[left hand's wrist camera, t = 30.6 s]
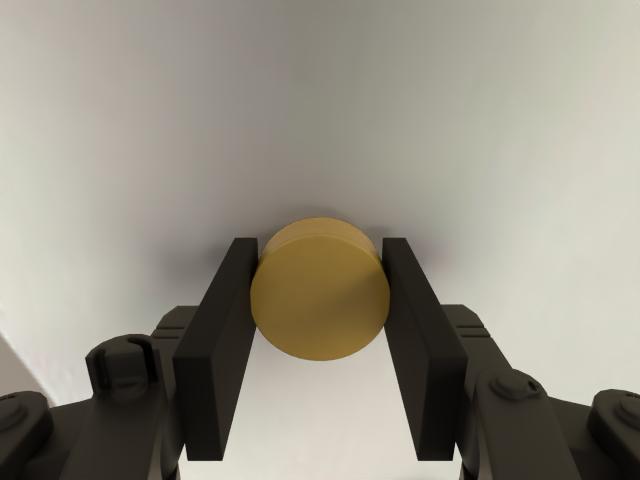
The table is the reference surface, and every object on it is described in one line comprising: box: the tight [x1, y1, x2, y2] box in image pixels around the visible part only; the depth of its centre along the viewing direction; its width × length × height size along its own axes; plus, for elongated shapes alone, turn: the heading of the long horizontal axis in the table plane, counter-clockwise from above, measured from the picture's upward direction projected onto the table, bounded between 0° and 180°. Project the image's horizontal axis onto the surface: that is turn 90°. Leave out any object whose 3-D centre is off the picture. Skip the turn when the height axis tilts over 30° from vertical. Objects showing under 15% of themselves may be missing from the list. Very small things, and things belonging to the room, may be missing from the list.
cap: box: [250, 217, 390, 361], centre depth 14 cm, size 4×4×2 cm
